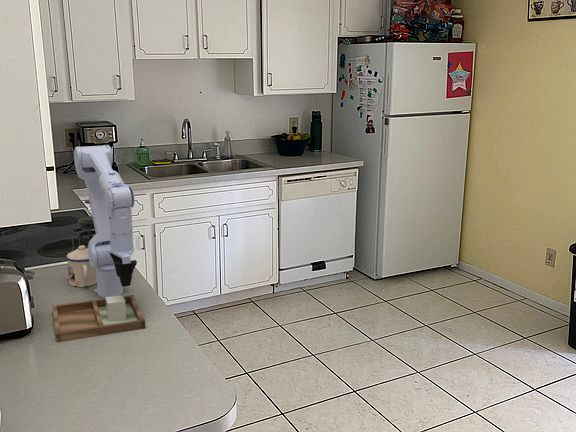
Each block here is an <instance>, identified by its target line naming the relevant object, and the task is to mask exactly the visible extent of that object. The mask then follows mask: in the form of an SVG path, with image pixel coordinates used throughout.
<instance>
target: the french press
mask: <svg viewBox="0 0 576 432" xmlns="http://www.w3.org/2000/svg"><path fill="white" fill-rule="evenodd" d="M83 203H84V204H88V205H89V207H90V208H91V206H90V201H89V199H88V200H84V202H83ZM90 211H91V210H90ZM90 213H91V215H88V216H83V217H81V218H78V219H77V223H78V224H79V225H78V226H79V228H80V229H82V230H85V231H82V232H80V233H79V234H78V235H74V236H72V237H71V240H72V241H71V242H72V251H75V250H76V248H75V247H76V246H75V239H78V244H79V246H81V242H82V243H83V242H84V243H89V241H90V240H91V239H92V238H93V237H94V236H95V235H96V232H95V227H94V221H93V216H92V211H91V212H90ZM85 236H88V237H85ZM79 246H78V247H79ZM86 248H87V249H88V247H86Z"/></svg>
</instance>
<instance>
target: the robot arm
mask: <svg viewBox="0 0 576 432" xmlns="http://www.w3.org/2000/svg"><path fill="white" fill-rule="evenodd" d="M112 150H113V149H112V147H111V146H110V145H109V144H105V145H94V146H93V145H91V146H76V147H75V148H74V149H73V160H74V167H75V171H76V175H77V177H78V178H79V179H81V180H83V181H84V184H85V187H86V190H87V196H88V200H89V201H90V204H89V207H90V206H91V207H90V211H92V214H91V216H93V221H94V227H95V229H94V230H95V232H96V234H94V237H93V238H92V239H91V240H90V241H89V242H88V245H87V248H88V250H89V261H90V264H91V266H92V267H93V268H96V279H97V283H96V288H94V290H93V292H95V293H97V296H98V297H101V298H106V297H111V296H118V295H123V293H124V288H125V287H130V286H131V283H132V277H133V273H134V270H135V268H136V266H137V263H138V262H137V260H136V259H133V260H132V258H131V256H132V255H133V253H134V251H135V247H134V240H133V239H134V236H133V235H134V234H133V215H132V214H133V213H132V208H134V206H135V192H134V190H133V188H132V186H131V184H129V185H128V184H125V182H124V181H123V179H122V177H121V175H120V174H119V173H118V171H116V170H113V167H112V166H113V163H114V161H113V159H114V155H113V151H112Z"/></svg>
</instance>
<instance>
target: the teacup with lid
mask: <svg viewBox="0 0 576 432" xmlns="http://www.w3.org/2000/svg"><path fill="white" fill-rule="evenodd" d="M87 248H88V247H86V246H85V245H83V244H82V245H81V246H78V248H75V251H73V250H72V251H70V252H68V253H67V255H66V257H65V258H66V261H67V270H68V272H67V273H68V282H69V285H70V286H72V287H74V286H77V287H76V288H86V287H85V286H88V287H92V286H94V285H97V279H96V268H93V267H92V266H91V264H90V261H89V250H88V249H87ZM91 285H92V286H91Z"/></svg>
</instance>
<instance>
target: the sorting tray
mask: <svg viewBox="0 0 576 432" xmlns="http://www.w3.org/2000/svg"><path fill="white" fill-rule="evenodd" d="M123 297H124V299H125V306H126V319H122V320H115V321H108V318H107V314H106V298H100V299H92V300H86V301H85V300H84V301H79V302H78V301H76V302H70V303H63V304H56V305H55V304H54V305H51V307H52V315H53V323H54V331H55V338H56V340H55V341H56V343H60V342H66V341H73V340H79V339H86V338H93V337H97V336H98V337H100V336H104V335H105V336H106V335H111V334H117V333H118V334H119V333H124V332H125V333H126V332H130V331H137V330H143V329H147V327H146V320H145V318H144V316H143V313H142V311H141V309H140V307H139V305H138V302H137V300H136V298H135V297H134V294H129V295H123Z"/></svg>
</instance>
